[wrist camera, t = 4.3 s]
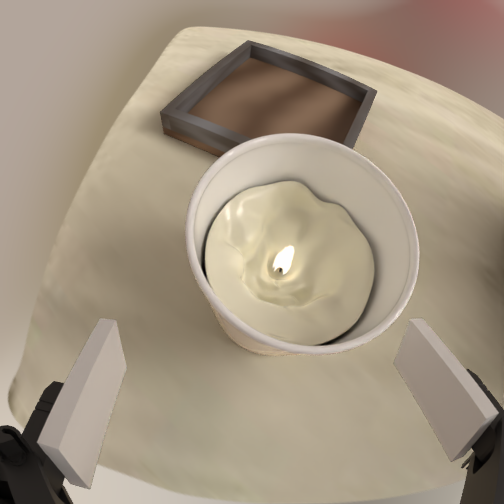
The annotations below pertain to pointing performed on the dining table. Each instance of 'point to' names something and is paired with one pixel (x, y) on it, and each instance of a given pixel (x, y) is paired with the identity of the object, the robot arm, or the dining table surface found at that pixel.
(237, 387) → the dining table surface
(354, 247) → the candle holder
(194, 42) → the dining table surface
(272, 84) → the socket base
